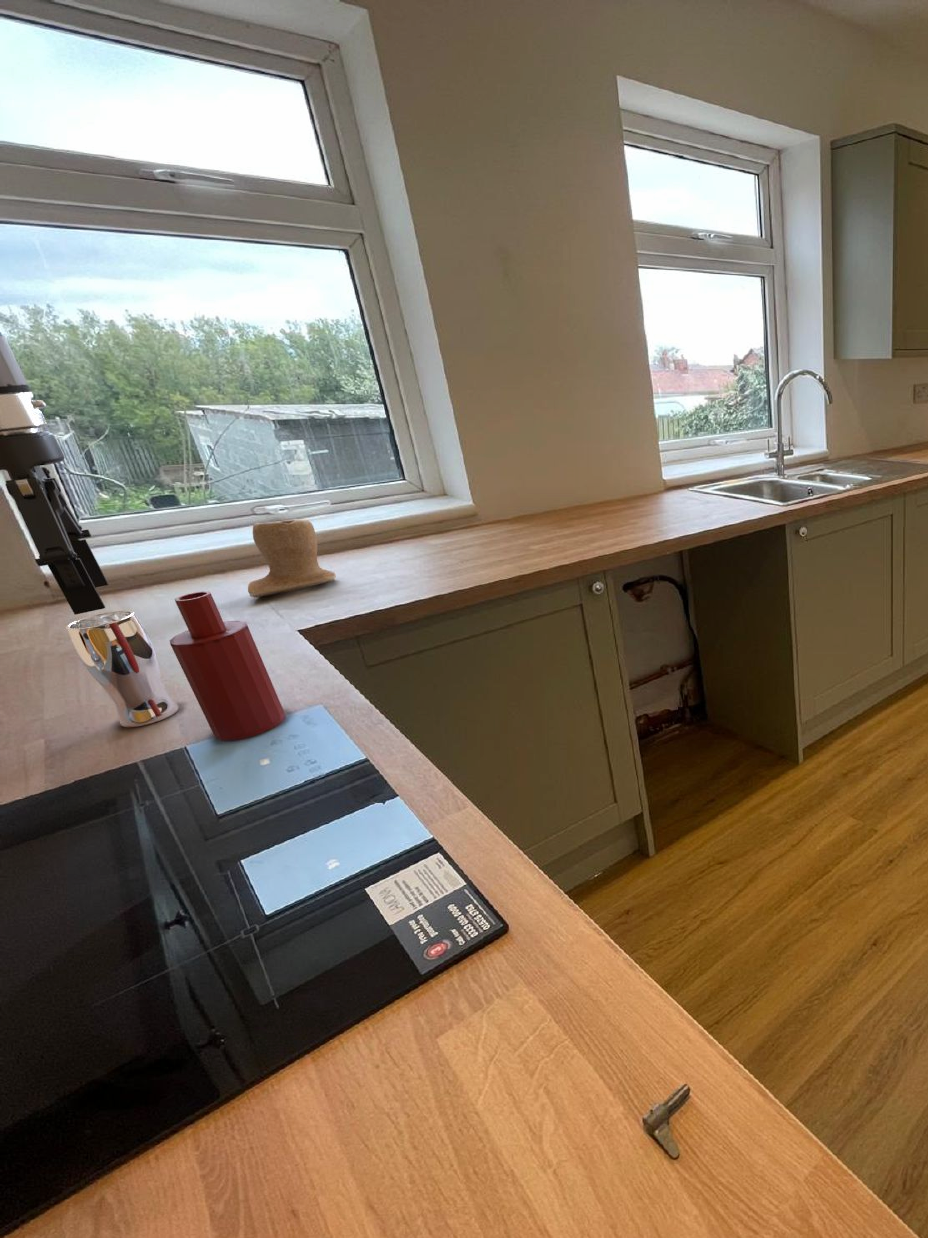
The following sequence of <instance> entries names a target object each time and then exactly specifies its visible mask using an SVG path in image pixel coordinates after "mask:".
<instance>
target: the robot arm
mask: <svg viewBox="0 0 928 1238" xmlns="http://www.w3.org/2000/svg"><path fill="white" fill-rule="evenodd" d="M31 391H32V390H31V388H30V386H29V384H28V382H27V380H26V377H25V376H24V373H23V371H22V369H21V367H20V365H19V363H18V361H17V359H16V357H15V355H14V353H13V350H12V347H11V346H10V344H9V342H8V340H7V338H6V336H5V334H4V331H2V329H1V328H0V471H6V472H7V474H8V477H9V480H5V487H6V490H7V493H8V494H9V495H10V497H11V498H12V499H13V500H14V502H15V505H16V507H17V509H18V512H19V513H20V515H21V517H22V519H23V521H24V524H25V526H26V528H27V530H28V533H29V535H30V537H31V539H32V542H33V543H34V545H35V548H36V550H37V553H38V554H39V555H38V558H35V559H34V561H35V564H37V566H38V567H44V566H47V567H48V569H49V570H50V572H51V574H52V576H53V578H54V580H55V582H56V583H57V585H58V587H59V589H60V591H61V592H62V595H63V596H64V598H65V600H66V601H67V603H68V605H69V607H70V609H71V611H72V613H73V614H74V616H75V615H81V614H85V613H90V612H96V611H99V610H104V609H106V605H105V604H104V601H103V600H102V598H101V596H100V594H99V592H98V590H97V588H100V587H105V586H109V581H108V580H107V578H106V575H105V574H104V572H103V570H102V568H101V566H100V564H99V562H98V560H97V559H96V557H95V555H94V553H93V551H92V549H91V546H90V545H89V543H88V541H87V539H88V538H92V534H91V532H90V530H89V529H83V527H82V525H80V523H79V522H78V520H77V518H76V517H75V515H74V513H73V512H72V510H71V509H70V507H69V505H68V503H67V501H66V498H65V496H64V494H63V492H62V488H61V487H60V483H59V482H58V480H57V479H56V477H52V476H51V471H50V469H49V468H47V467H46V466H48V465H53V464H58V463H62V462H63V461H64V460H65V454H64V452H63V451H62V449H61V447H60V445H59V443H58V441H57V439H56V437H55V435H54V433H52V432H51V431H50V430H43V428H44V427H46V426H47V425H48V422H47V420H46V417H45V416H44V414H43V412H42V411H41V409H45V408H46V407H47V404H46V403H45V402H44V400H42V399H34V394H33V393H32V392H31ZM39 409H40V410H39Z"/></svg>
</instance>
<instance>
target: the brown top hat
mask: <svg viewBox="0 0 928 1238" xmlns="http://www.w3.org/2000/svg"><path fill="white" fill-rule="evenodd" d="M252 538H253V542H254V544H255V546H256V548H257V549H258V551H259V552H260V554H261V556H262V557H263V559H264V560H265V562H266V563H267V565H268V568H269V572H268V574H267V575H266V576H264V577H262V578H259V579H256V580H253V581H249V583H248V585H247V593H248V594H249V596H250V598H262V597H266V596H267V597H268V596H272V595H273V596H274V595H277V594H278V595H279V594H282V593H288V592H292V591H298V590H301V589H306V588H309V587H314V586H317V585H320V584H324V583H328V582H331V581H333V580H335V578H336V576H337V575H336V573H335V572H334V571H331V570H327V569H323V567H320V565H319V562H318V561H319V560H318V537H317V534H316V532H315V527H314V524H313V523H312V522H311V520H310V521H309V519H306V518H305V519H304V518H297V519H288V520H286V519H285V520H279V521H269V522H267V521H266V522H256V523H254V524H253V525H252Z"/></svg>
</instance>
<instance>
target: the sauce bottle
mask: <svg viewBox="0 0 928 1238" xmlns="http://www.w3.org/2000/svg"><path fill="white" fill-rule="evenodd" d="M174 602H175V604H176V606H177V608H178V611H179V613H180V615H181V617H182V620H183V621H184V623H185V625H186V627H187V630H186V631H183V632H181V633H178V634H176V635H174V636H173V637H172V638H171V639H169V645H170V646H171V648H172V651H173V653H174V656H175V657H176V660H177V662H178V664H179V665H180V667H181V669H182V672H183V674H184V676H185V677H186V680H187V683H188V684H189V686H190V689H191V690H192V692H193V694H194V696H195V699H196V701H197V703H198V705H199V707H200V709H201V711H202V713H203V715H204V717H205V719H206V722H207V723H208V726H209V727H210V730H211V732H212V734H213V736H214V737H215V739H216V740H217V741H222V742H233V741H240V740H245V739H249V738H252V737H255V736H258V735H261V734H263V733H265V732H268V731H270V730H272V729H274V728H275V727H277V726H279V725H280V724H282V723H283V722H284V721H285V719H286V712H285V710H284V708H283V706H282V703H281V701H280V699H279V696H278V694H277V691H276V689H275V686H274V685H273V682H272V680H271V677H270V675H269V673H268V671H267V668H266V666H265V663H264V661H263V658H262V657H261V654H260V652H259V651H260V650H258V646H257V645H256V642H255V640H254V637H253V635H252V633H251V631H250V628H249V626H248V623H247V621H243V620H225V621H224V619H223V618H222V615H221V613H220V610H219V608H218V605H217V604H216V601H215V599H214V597H213V594H212V593H211V591H210V590H209V591H207V590H203V591H202V590H201V591H195V592H189V593H186V594H183V595H180V596H178V597H176V598H174Z"/></svg>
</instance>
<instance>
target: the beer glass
mask: <svg viewBox="0 0 928 1238" xmlns="http://www.w3.org/2000/svg"><path fill="white" fill-rule="evenodd" d="M65 629H66V631H67V633H68V636H69V638H70V640H71V643H72V645H73V647H74V650H75V652H76V653H77V656H78V657H79V658H78V659H80V661H81V662H82V664H83V666H84V667H85V669H86V670H87V671H88V672H89V674H90V676H92V677H93V679H94V680H95V682H97V684H99V685H100V687H101V688H102V689H103V690H104V691H105V692H106V693H107V695H108V696H109V698H110V699H111V701H112V702H113V705H114V706H115V708H116V712H117V716H118V720H119V724H120V725H121V727H124V728H138V727H143V726H147V725H151V724H155V723H158V722H160V721H163V720H165V719H167V718H170V717H172V716H173V715H174V714H175V713H177V712H178V710H179V709H180V707H179V705H178V703H177V702H176V701H175V700H174V699H173V697H172V696H171V695H170V694H169V692H168V691H167V689H166V687H165V685H164V682H163V680H162V675H161V671H160V667H159V663H158V662H159V661H158V657H157V653H156V651H155V648H154V645H153V643H152V640H151V638H150V637H149V635H148V633H147V631H146V629H145V628H144V626H143V624H142V623H141V621H140V619H139V618H138V616H137V614H136V612H135V611H133V610H127V609H126V610H125V609H124V610H114V611H108V612H103V613H98V614H93V615H89V616H86V617H84V618H80V619H77V620H74V621H72V622H70V623H69V624H67V625H66V627H65Z"/></svg>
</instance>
